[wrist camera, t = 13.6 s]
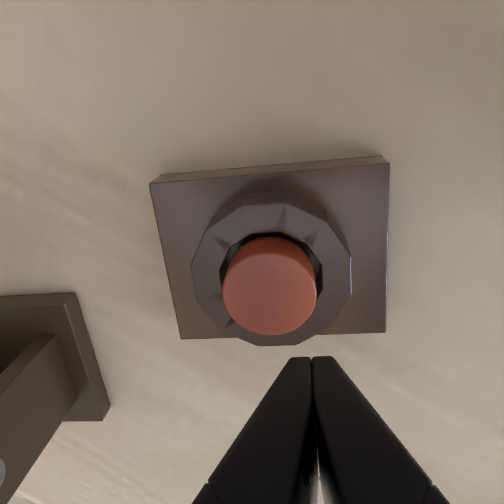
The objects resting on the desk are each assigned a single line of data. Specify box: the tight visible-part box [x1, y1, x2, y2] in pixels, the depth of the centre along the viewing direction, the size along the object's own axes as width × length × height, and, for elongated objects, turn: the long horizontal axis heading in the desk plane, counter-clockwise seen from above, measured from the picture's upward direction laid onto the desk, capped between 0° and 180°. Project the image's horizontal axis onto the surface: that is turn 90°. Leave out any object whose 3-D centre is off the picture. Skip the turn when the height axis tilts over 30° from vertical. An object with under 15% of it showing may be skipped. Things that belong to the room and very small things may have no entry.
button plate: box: [149, 155, 390, 346], centre depth 18 cm, size 10×8×4 cm
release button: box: [222, 236, 317, 335], centre depth 16 cm, size 4×4×2 cm
